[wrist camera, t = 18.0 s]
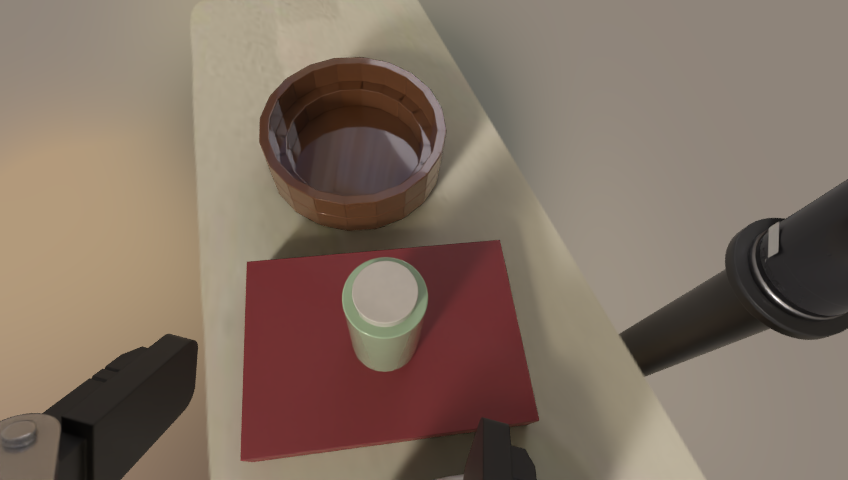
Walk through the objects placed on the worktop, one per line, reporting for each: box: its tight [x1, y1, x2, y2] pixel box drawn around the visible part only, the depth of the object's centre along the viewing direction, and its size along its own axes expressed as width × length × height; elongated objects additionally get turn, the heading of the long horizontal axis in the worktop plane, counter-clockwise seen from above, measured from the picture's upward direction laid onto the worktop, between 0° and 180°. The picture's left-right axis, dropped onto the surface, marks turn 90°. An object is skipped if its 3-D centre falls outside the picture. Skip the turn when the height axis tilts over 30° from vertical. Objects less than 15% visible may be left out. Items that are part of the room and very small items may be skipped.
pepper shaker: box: [342, 257, 428, 372], centre depth 31 cm, size 5×5×10 cm
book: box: [241, 240, 539, 462], centre depth 36 cm, size 20×14×3 cm
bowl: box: [259, 57, 446, 231], centre depth 43 cm, size 16×16×5 cm
